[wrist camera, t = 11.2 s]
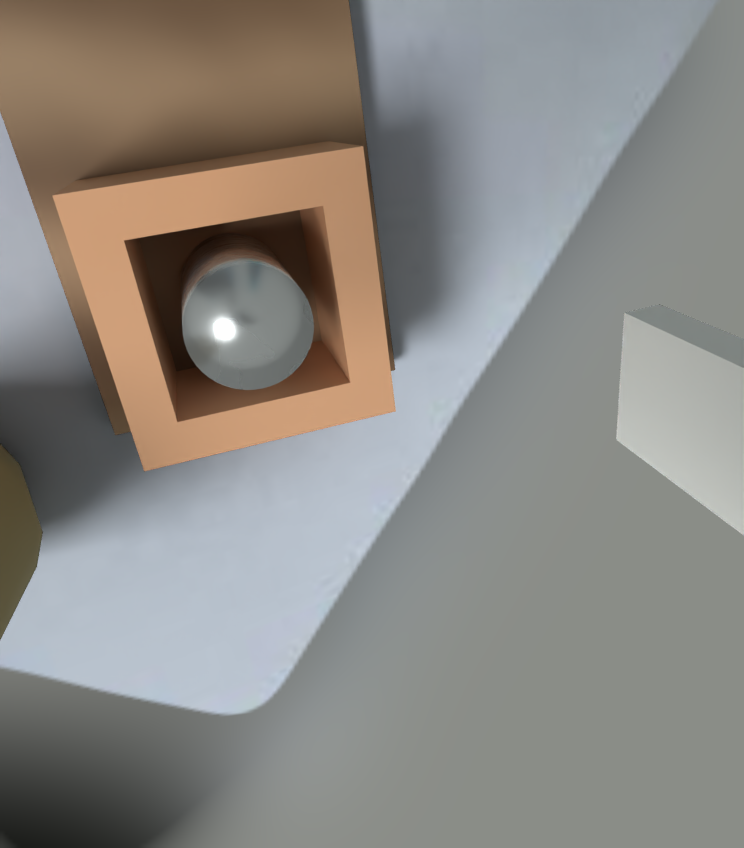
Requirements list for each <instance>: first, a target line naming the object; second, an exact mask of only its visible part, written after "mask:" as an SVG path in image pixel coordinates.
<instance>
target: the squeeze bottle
mask: <svg viewBox="0 0 744 848" xmlns="http://www.w3.org/2000/svg"><path fill="white" fill-rule="evenodd" d="M42 533H43V532H42V529H41V526H40V523H39V520H38V517H37V514H36V511H35V508H34V505H33V502H32V499H31V496H30V493H29V490H28V487H27V484H26V481H25V478H24V476H23V473H22V470H21V467H20V464H19V463H18V462H17V461H16V460H15V459H14V458H13V457H12V456H11V455H10V454H9V453H8V451H7V450H6V449H5V448H4V447H3V446H2V445H1V444H0V640H1V638H2V636H3V634H4V632H5V630H6V628H7V626H8V624H9V621H10V619H11V617H12V615H13V613H14V611H15V609H16V607H17V605H18V603H19V601H20V599H21V597H22V595H23V593H24V591H25V589H26V587H27V585H28V583H29V581H30V579H31V577H32V575H33V573H34V571H35V569H36V567H37V562H38V557H39V551H40V545H41V539H42Z"/></svg>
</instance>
